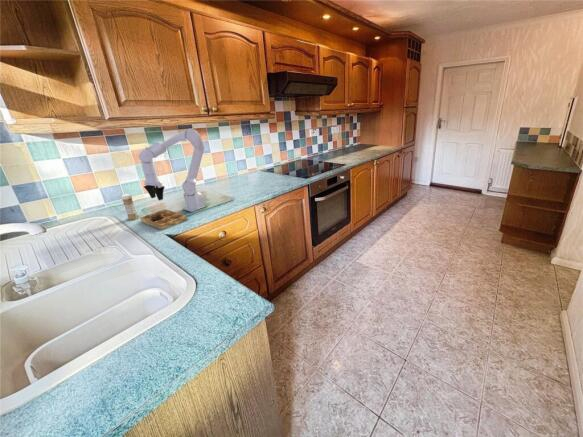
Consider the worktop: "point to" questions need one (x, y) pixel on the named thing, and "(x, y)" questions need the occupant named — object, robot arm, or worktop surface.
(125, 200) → the sprinkles bottle
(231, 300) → the worktop surface
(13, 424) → the worktop surface
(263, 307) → the worktop surface
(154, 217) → the token
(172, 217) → the grid
